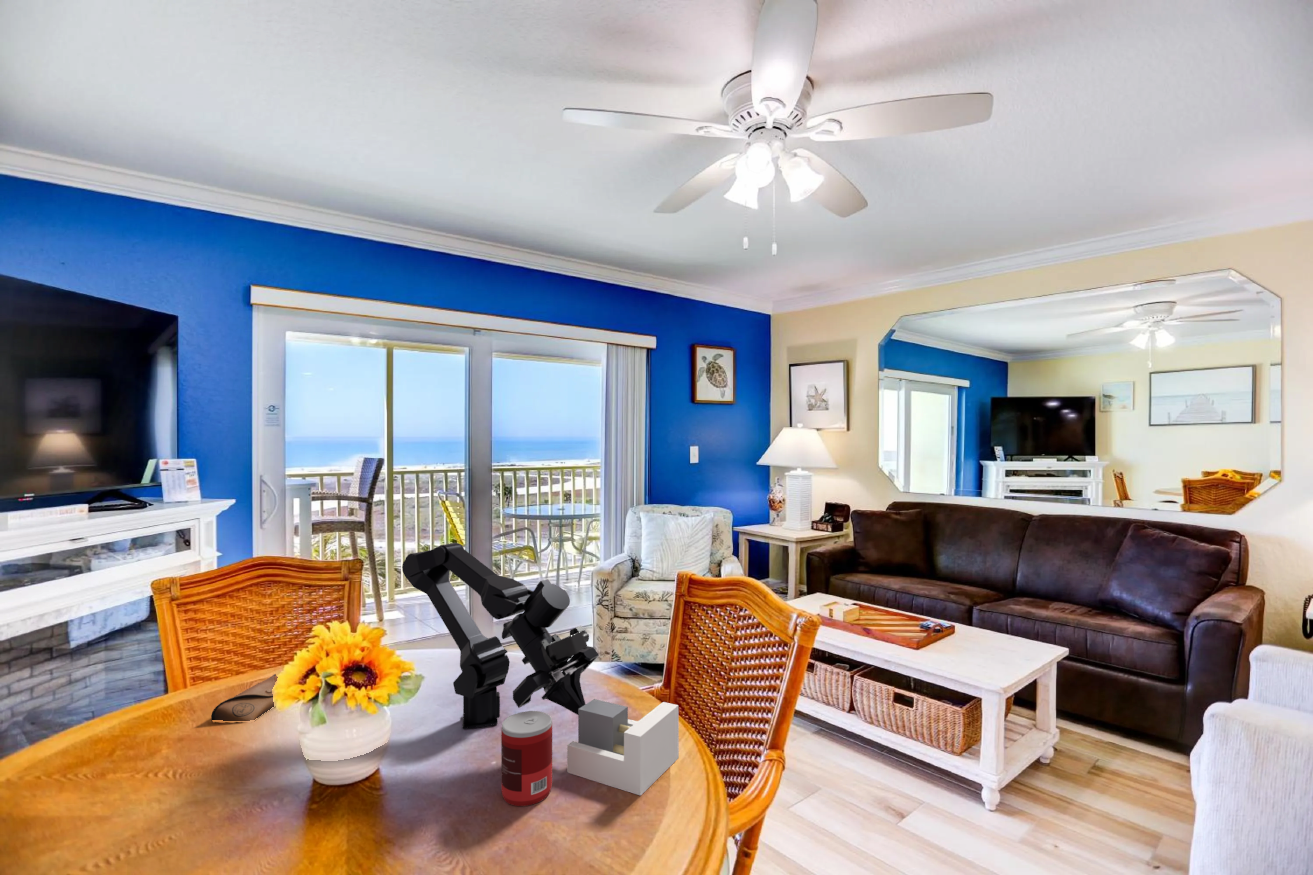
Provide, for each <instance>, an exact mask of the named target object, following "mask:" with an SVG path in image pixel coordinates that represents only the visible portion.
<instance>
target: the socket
mask: <svg viewBox="0 0 1313 875" xmlns="http://www.w3.org/2000/svg"><path fill="white" fill-rule="evenodd" d="M628 726H630V728H629V729H628V730H626V731H625V732H624V756H623V755H620V754H616V753H613V752H609V751H606V750H602V749H599V748H595V747H592V746H588V745H585V744H581V743H578V741H573V740H572V741H571V742H569V743H568V744H567V745H566V746H567V748H566V749H567V752H566V754H567V757H566V758H567V759H566V760H567V765H566V766H567V769H566V770H567V771H566V772H567V773H568V774H571V775H574V776H577V777H581V778H584V779H586V780H590V781H592V782H595V783H600V784H602V785H606V786H609V787H612V788H615V789H619V790H622V791H625V792H628V793H632V794H634V795H638V796H640V797H641V796H642V795H643V794H644V793H645V792H646V791H647V790H648V789H649V788H650V787H651V786H652V785H653V784H654V783H655V782H656V781H657V780H658V779H659V778H660V777H661V776H662V775H663V774H664V773H665V772H666V771H667V770H668V769H669V768H671V766H672V765H673V764H674V763H675V762H676V761H677V760H678V759H679V754H680V753H679V752H680V751H679V746H680V745H679V742H680V739H679V737H680V736H679V729H680V728H679V705H678V704H674V703H669V702H666V701H663V702H661V703H660V704H659V705H657V706H656V707H654V708H653V709H652V710H651V711H650V712H648V713H647V714H645V715H644V716H643V717H642V718H640V719H639V720H633V719H629V718H628Z"/></svg>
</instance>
